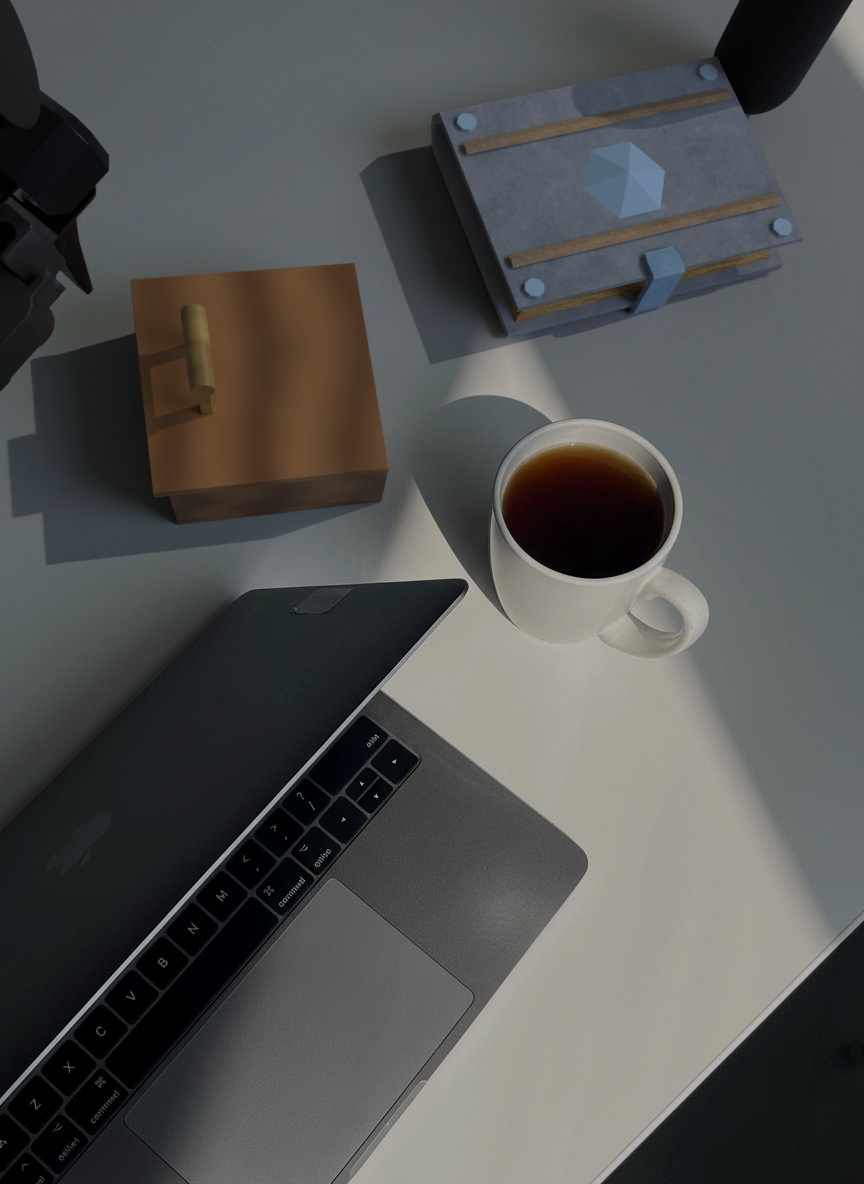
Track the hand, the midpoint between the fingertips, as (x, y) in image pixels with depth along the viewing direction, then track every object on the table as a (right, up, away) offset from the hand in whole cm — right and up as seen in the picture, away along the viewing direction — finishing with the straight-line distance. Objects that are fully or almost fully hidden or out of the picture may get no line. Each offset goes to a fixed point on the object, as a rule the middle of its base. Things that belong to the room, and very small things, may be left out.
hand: (25, 354), depth 53 cm
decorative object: (+44, +25, +24) cm, 56 cm away
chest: (+10, -1, +12) cm, 16 cm away
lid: (+11, 0, +8) cm, 13 cm away
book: (+33, +15, +20) cm, 41 cm away
